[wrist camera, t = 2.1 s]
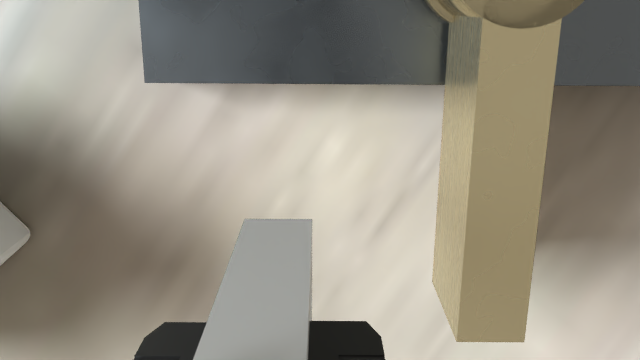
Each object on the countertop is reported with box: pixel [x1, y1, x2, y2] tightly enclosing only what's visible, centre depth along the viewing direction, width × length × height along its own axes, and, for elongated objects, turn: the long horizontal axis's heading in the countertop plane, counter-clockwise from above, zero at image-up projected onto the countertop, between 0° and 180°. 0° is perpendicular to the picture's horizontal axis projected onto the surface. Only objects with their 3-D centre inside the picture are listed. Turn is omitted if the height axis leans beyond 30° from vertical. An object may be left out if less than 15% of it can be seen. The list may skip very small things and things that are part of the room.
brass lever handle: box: [424, 0, 584, 342], centre depth 18 cm, size 13×4×4 cm, turn 0°
